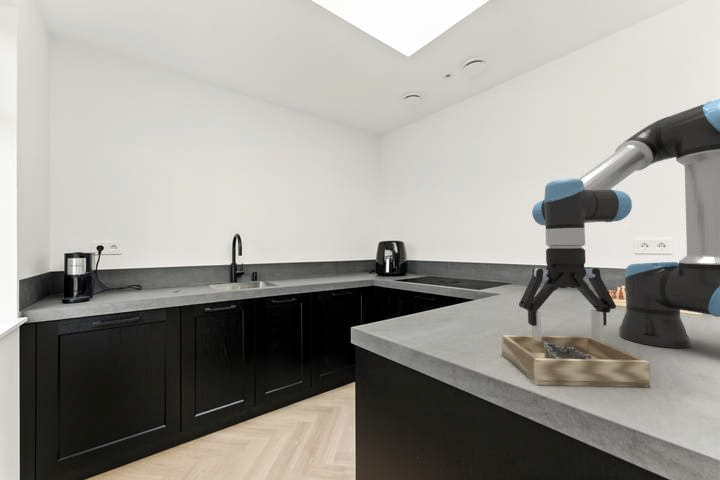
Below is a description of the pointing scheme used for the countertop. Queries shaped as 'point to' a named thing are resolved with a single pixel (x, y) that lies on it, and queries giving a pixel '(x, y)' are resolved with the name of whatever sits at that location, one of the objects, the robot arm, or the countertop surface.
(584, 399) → the countertop surface
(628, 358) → the tray
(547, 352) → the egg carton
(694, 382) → the countertop surface
